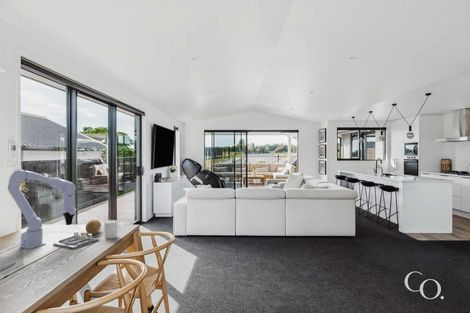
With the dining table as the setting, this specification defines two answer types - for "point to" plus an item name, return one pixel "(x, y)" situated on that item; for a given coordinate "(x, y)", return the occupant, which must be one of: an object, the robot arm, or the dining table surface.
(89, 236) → the panel
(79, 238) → the breaker
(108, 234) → the white cup
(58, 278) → the dining table surface
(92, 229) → the potato
